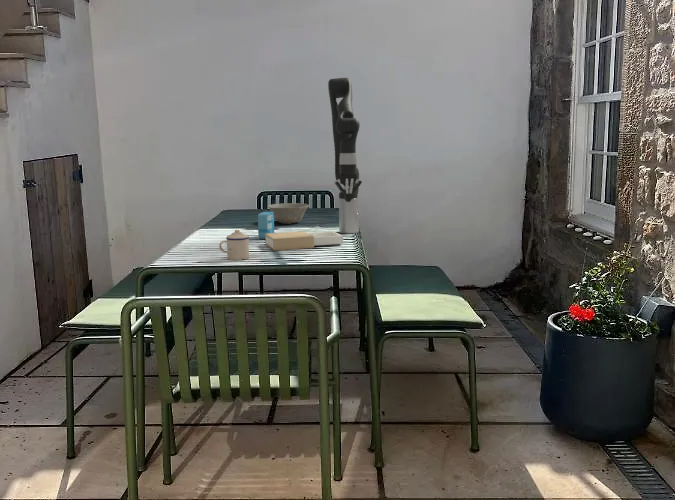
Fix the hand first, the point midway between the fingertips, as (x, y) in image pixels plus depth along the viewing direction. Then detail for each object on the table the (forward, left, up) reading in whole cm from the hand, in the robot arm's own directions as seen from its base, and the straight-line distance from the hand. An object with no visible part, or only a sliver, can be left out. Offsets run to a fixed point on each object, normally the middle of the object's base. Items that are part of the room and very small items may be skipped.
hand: (348, 201), depth 299 cm
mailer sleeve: (+28, 0, -19) cm, 34 cm away
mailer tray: (+21, 0, -18) cm, 28 cm away
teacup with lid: (+56, +20, -19) cm, 62 cm away
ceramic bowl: (+9, -74, -19) cm, 77 cm away
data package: (+32, -28, -19) cm, 46 cm away
